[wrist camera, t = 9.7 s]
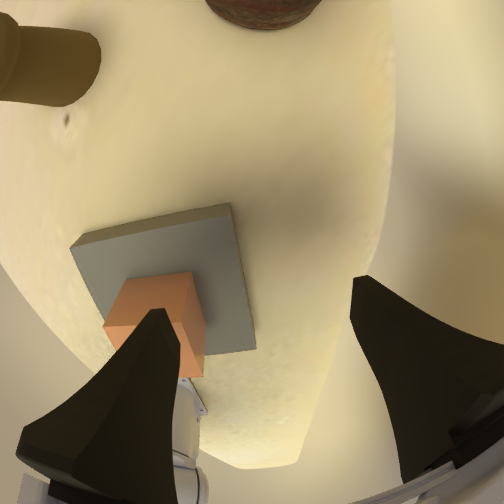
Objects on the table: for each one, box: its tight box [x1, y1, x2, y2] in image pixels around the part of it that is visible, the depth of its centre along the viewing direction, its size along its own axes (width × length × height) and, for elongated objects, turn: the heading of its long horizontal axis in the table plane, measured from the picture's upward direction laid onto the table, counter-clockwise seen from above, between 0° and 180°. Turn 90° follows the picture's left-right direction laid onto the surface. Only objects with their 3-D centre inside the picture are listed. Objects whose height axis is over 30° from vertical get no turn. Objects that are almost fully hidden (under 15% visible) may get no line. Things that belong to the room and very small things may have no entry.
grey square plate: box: [69, 203, 257, 356], centre depth 21 cm, size 12×12×3 cm
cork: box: [0, 12, 101, 107], centre depth 8 cm, size 6×6×11 cm
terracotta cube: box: [103, 272, 207, 378], centre depth 17 cm, size 5×5×5 cm
